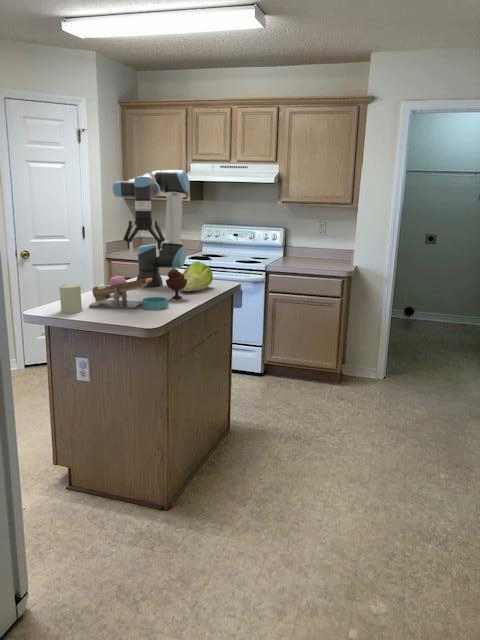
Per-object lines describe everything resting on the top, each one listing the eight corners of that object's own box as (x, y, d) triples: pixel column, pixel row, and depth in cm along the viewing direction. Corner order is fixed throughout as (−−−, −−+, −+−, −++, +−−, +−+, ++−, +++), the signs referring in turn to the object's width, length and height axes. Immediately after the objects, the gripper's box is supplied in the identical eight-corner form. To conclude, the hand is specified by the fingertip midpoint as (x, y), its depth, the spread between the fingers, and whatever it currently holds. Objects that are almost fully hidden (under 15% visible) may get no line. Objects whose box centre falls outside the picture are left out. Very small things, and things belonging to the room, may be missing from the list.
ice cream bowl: (184, 301, 252) (183, 271, 248) (162, 300, 254) (161, 270, 250) (190, 297, 262) (190, 267, 258) (169, 295, 264) (169, 267, 260)
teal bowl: (147, 303, 246) (147, 296, 245) (170, 304, 244) (170, 297, 243) (139, 309, 235) (139, 301, 234) (164, 310, 233) (164, 302, 232)
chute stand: (100, 301, 249) (98, 282, 247) (143, 303, 247) (142, 283, 244) (89, 307, 237) (87, 287, 234) (135, 309, 234) (134, 289, 232)
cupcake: (129, 295, 264) (128, 276, 261) (112, 297, 260) (111, 277, 257) (124, 292, 271) (123, 273, 269) (108, 293, 268) (107, 274, 265)
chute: (108, 294, 255) (105, 282, 253) (154, 286, 251) (151, 273, 249) (95, 302, 238) (91, 288, 237) (143, 293, 234) (140, 279, 233)
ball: (100, 292, 243) (97, 284, 242) (108, 290, 242) (105, 282, 242) (97, 293, 239) (94, 285, 238) (104, 291, 239) (102, 283, 238)
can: (66, 308, 235) (64, 282, 232) (85, 308, 234) (83, 283, 231) (57, 312, 226) (55, 286, 223) (77, 313, 225) (75, 286, 222)
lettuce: (202, 303, 271) (176, 304, 277) (218, 280, 289) (193, 281, 295) (194, 278, 263) (168, 280, 269) (211, 257, 282) (186, 259, 288)
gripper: (115, 209, 238) (117, 256, 243) (166, 210, 235) (167, 257, 240) (121, 209, 245) (122, 254, 250) (170, 210, 242) (171, 255, 247)
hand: (144, 256), depth 245 cm, fingers open, 12 cm apart
